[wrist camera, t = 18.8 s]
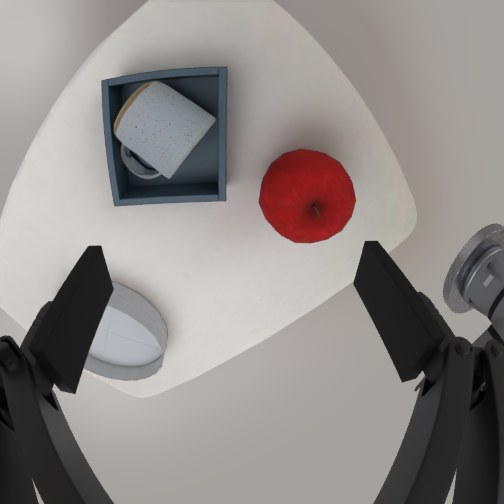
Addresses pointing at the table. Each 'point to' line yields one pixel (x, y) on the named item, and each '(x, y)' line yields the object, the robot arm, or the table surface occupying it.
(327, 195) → the apple
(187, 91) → the tub
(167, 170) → the ceramic mug
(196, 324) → the table surface
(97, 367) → the dish
